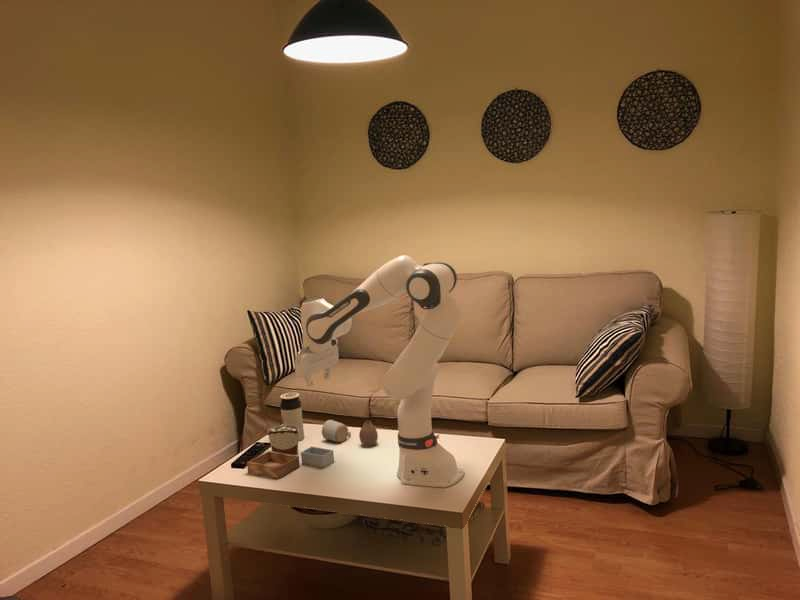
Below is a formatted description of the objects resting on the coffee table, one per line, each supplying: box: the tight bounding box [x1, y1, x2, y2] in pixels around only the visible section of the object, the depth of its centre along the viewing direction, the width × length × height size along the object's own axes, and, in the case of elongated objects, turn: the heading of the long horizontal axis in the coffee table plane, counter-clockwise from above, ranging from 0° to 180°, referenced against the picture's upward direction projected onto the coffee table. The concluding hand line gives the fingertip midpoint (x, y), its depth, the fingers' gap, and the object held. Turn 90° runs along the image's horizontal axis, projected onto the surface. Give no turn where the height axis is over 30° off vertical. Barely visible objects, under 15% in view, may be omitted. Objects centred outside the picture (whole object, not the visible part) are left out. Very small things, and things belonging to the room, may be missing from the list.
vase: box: [358, 421, 379, 448], centre depth 259 cm, size 7×7×9 cm
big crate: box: [246, 450, 301, 480], centre depth 242 cm, size 14×12×4 cm
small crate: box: [300, 446, 335, 469], centre depth 245 cm, size 10×6×4 cm, turn 58°
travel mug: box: [279, 392, 305, 442], centre depth 271 cm, size 8×8×18 cm
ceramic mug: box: [321, 419, 352, 443], centre depth 268 cm, size 11×8×8 cm
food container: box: [266, 424, 300, 456], centre depth 258 cm, size 12×6×10 cm, turn 84°
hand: (318, 382), depth 241 cm, fingers open, 8 cm apart
